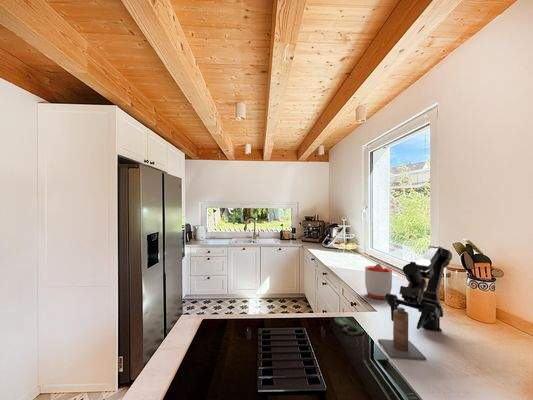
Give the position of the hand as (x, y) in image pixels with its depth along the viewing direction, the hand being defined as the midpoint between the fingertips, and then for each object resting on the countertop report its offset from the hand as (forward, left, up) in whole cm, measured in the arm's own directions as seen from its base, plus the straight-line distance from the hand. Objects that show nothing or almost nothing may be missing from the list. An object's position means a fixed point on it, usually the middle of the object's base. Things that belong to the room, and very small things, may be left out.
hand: (404, 324), depth 100 cm
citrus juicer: (-12, -61, -9) cm, 63 cm away
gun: (+18, -15, -9) cm, 25 cm away
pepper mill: (+2, +2, -8) cm, 8 cm away
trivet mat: (+2, +2, -8) cm, 9 cm away
